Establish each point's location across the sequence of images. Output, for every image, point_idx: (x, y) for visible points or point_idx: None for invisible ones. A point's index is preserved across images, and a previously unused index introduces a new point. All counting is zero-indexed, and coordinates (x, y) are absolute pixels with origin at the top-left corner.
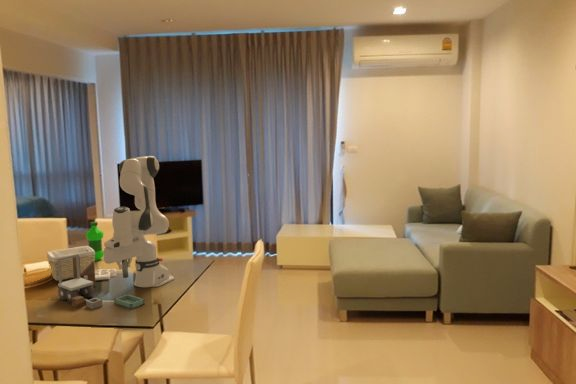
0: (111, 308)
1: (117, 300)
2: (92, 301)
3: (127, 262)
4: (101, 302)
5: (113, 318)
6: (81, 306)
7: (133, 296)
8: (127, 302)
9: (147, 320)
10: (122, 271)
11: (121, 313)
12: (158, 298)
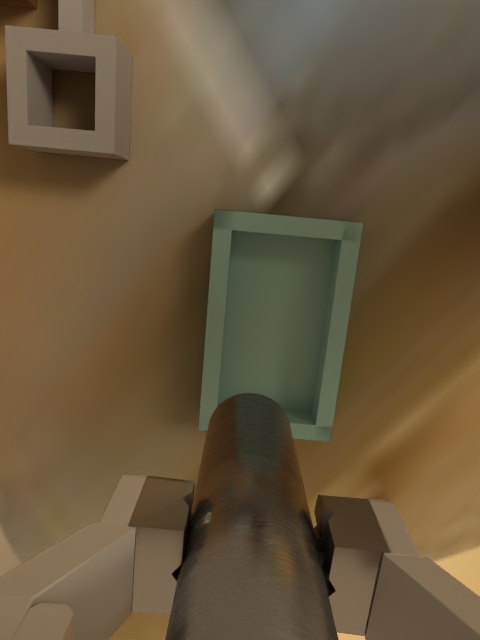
0: (134, 274)
1: (211, 255)
2: (72, 61)
3: (395, 580)
4: (111, 156)
5: (28, 431)
6: (7, 4)
7: (339, 316)
8: (212, 379)
9: (134, 618)
10: (201, 466)
11: (114, 412)
12: (465, 426)
